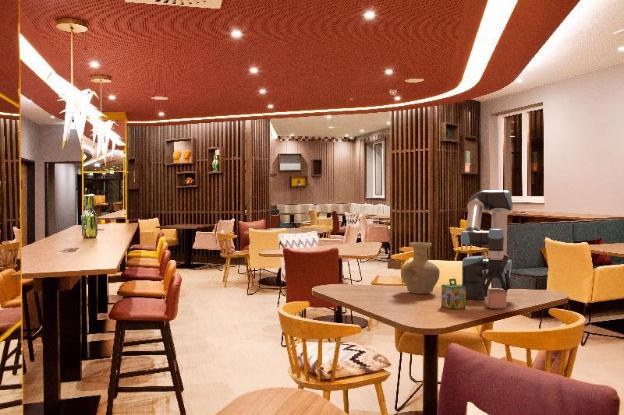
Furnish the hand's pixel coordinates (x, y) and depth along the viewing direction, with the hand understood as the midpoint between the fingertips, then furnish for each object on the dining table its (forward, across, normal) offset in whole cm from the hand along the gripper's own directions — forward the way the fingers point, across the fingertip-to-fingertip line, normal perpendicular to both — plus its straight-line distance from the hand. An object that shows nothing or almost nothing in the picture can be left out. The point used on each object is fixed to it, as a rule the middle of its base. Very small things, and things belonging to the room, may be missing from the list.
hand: (495, 302), depth 274 cm
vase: (+3, -26, +44) cm, 52 cm away
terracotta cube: (+2, 0, 0) cm, 2 cm away
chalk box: (+3, -21, +4) cm, 21 cm away
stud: (+3, 0, 0) cm, 3 cm away
